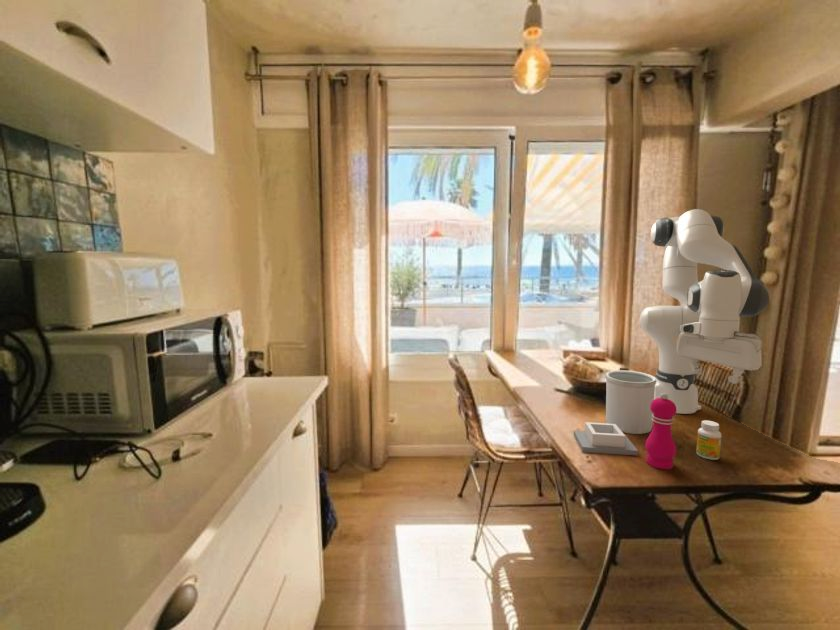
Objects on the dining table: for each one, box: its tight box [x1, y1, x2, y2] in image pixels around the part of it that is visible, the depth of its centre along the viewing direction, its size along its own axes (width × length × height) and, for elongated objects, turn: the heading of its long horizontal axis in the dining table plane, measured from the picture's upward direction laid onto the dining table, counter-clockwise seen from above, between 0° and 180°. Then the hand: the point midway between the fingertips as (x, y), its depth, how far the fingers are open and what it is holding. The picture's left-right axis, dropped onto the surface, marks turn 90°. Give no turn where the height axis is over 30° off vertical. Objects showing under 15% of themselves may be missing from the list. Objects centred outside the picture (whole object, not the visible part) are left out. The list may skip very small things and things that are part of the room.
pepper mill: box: [644, 393, 677, 470], centre depth 105 cm, size 7×7×20 cm
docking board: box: [573, 421, 639, 456], centre depth 118 cm, size 12×15×5 cm
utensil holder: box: [605, 369, 656, 435], centre depth 131 cm, size 15×15×18 cm
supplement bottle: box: [695, 419, 722, 461], centre depth 110 cm, size 5×5×10 cm
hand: (714, 378), depth 108 cm, fingers open, 8 cm apart
